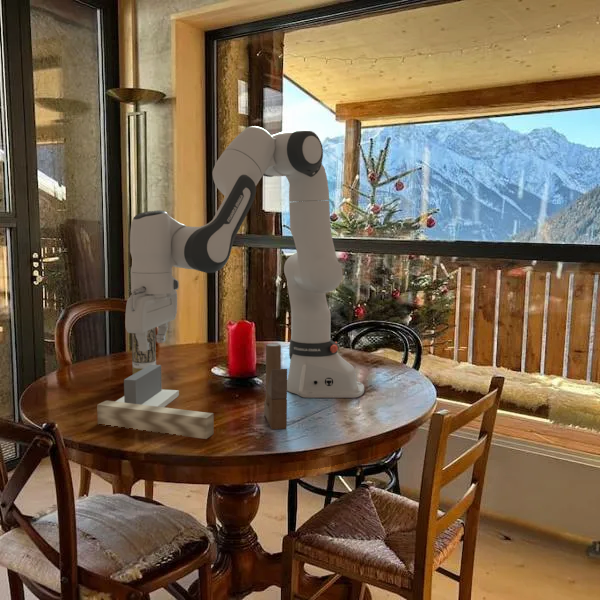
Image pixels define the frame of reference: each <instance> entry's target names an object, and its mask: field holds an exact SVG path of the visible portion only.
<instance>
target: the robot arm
mask: <svg viewBox="0 0 600 600" xmlns="http://www.w3.org/2000/svg"><path fill="white" fill-rule="evenodd" d="M323 157H324V148H323V144H322V141H321V140H320V138H319V136H318V135H317V134H316V133H315V132H314V131H312V130H310V129H309V130H308V129H296V130H288V131H287V130H286V131H281V132H278V133H275V134H270V132H269V131H267V130H266V129H264V128H263V127H260V126H256V125H254V126H253V125H252V126H247V127H246V128H245V129H243V130H242V131H241V132H240V133H239V134H238V135H237V136H236V137H235V138H234V139H232V140H231V142H230V143H229V145H228V146H227V147H226V148H225V149H224V150H223V151H222V153H221V155H220V156H219V158H218V159H217V161H216V162H215V164H214V167H213V169H212V179H213V183H214V185H215V187H216V188H217V189H218V191H219V192H220V193H221V194H222V195H223V196H224V198H223V199H222V200H223V201H222V202H221V204H220V205H219V207H218V209H217V211H216V213H215V215H214V216H213V218H212V220H210V221H209V222H208V223H206V224H204V225H201V226H189V225H188V226H187V225H186V224H184V223H181V222H179V221H178V220H176V219H174V218H173V217H172V216H170V215H169V213H168V212H167V211H165V210H150V211H144V212H140V213H137V214H135V216H134V217H133V218H132V220H131V223H130V233H129V234H130V235H129V252H130V255H131V259H132V260H131V268H130V293H131V295H129V297H128V299H127V301H126V304H125V305H126V306H125V321H124V323H125V326H124V327H125V330H126V332H127V333H128V334H132V333H136V338H137V341H138V343H139V351H147V350H149V342H148V341H147V335H148V330H151V329H153V328H155V329H156V328H158V329H157V334H155V339H156V343H157V344H158V343H160V344H163V343H165V342H166V341H167V332H168V328H169V322H172V321H174V320H176V316H177V312H178V311H177V310H178V292H177V290H179V288H180V283H179V280H178V279H176V278H175V277H174V276H173V267H175V268H179V269H186V270H193V271H198V272H202V273H206V274H214V273H217V272H219V271H220V270H222V269H223V268H224V267H225V266H226V264H227V263H228V261H229V259H230V256H231V252H232V249H233V246H234V245H233V244H234V242H235V239H236V236H237V235H238V232H239V231H240V229H241V227H242V225H243V223H244V221H245V218H246V217H247V215H248V213H249V211H250V210H251V207H252V205H253V202H254V200H255V197H256V193H257V185H258V184H259V182H260V180H261V179H262V177H268V178H272V177H286V180H287V181H288V184H289V186H288V190H289V191H288V203H289V205H288V206H289V207H288V208H289V230H290V233H291V235H292V238H293V241H294V245H295V250H296V252H295V253H293V254H291V255H290V256H289V257H288V258H287V259H286V260H285V262H284V266H283V273H284V275H285V278H286V284H287V292H288V299H289V303H290V311H291V312H290V314H291V317H290V318H291V319H290V320H291V321H290V322H291V329H290V330H291V332H290V333H291V334H290V335H291V339H290V340H289V346H288V347H289V348H288V351H289V352H288V353H289V355H288V356H289V359H290V361H289V369H288V370H289V371H288V373H287V392H288V393H292V394H296V395H298V396H299V397H301V398H312V399H313V398H317V399H319V398H322V399H323V398H325V399H327V398H331V399H332V398H334V399H335V398H337V399H338V398H339V399H340V398H341V399H344V398H350V399H351V398H359V397H361V396H362V395H364V393H365V385H364V384H363V383H362V382H361V381H358V377H357V372H356V369H355V367H354V366H353V365H352V364H351V363H349V362H348V361H347V360H346V359H344V358H343V357H342V356H341V355H340V354H339V353H338V349H339V347H338V342H337V341H333V340H332V339H331V327H332V325H331V323H332V322H331V320H332V319H331V318H332V314H331V310H330V307H329V305H328V301H327V300H328V299H327V295H326V293H331V292H333V291H335V290H336V289H337V288H338V287H339V286H340V285H341V282H342V281H343V273H344V272H343V268H342V266H341V263H340V262H339V259H338V257H337V253H336V248H335V245H334V240H333V236H332V230H331V211H330V208H331V207H330V191H329V184H328V183H329V182H328V177H327V173H326V169H325V167H324V165H323Z"/></svg>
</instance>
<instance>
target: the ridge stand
mask: <svg viewBox="0 0 600 600" xmlns="http://www.w3.org/2000/svg"><path fill="white" fill-rule="evenodd" d="M179 392H180V390H178V389H177V390H176V389H163V388H162V365H161V364H156V365H149V366H147V367H145V368H144V369H142V370H140V371H138V372H137V373H135V374H133V373H132V375H130V376H128V377H126V378H124V379H123V394H124V395H123V396H122V397H120V398H118V399H117V400H115V402H123V403H132V404H140V405H148V406H157V407H165V408H166V407H167V406H168V405H169V404H170V403H172V402H173V401H174V400H175V399H176V398H178V397H179V396H180V393H179Z"/></svg>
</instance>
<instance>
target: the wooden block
mask: <svg viewBox="0 0 600 600" xmlns="http://www.w3.org/2000/svg"><path fill="white" fill-rule="evenodd" d="M281 348H282V347H281V344H279V343H268V344H266V345H265V401H264V403H263V405H264V411H263V412H264V416H265V419H266V421H267V423H268V425H269V428H271V430H274V431H275V430H286V429H287V428H288V427H287V426H288V400H287V398H288V391H287V379H288V369H287V368H281V366H282V365H281V364H282V363H281V362H282V352H281V351H282V349H281Z"/></svg>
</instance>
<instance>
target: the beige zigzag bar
mask: <svg viewBox="0 0 600 600" xmlns="http://www.w3.org/2000/svg"><path fill="white" fill-rule="evenodd" d="M115 401H116V400H115ZM115 401H114V400H104V401H102V402H100V403H98V404H97V405H96V406H97V407H96V410H97V411H96V413H97V425H99V424H105V425H104V426H106V425H111V426H110V427H114V426H118V427H117V428H121V427H125V428H124V429H129V428H133V429H132V430H136V429H138V430H137V431H143V430H146V431H145V432H151V431H152V432H151V433H158V432H160V433H159V434H165V433H169V434H168V435H173V434H176V435H175V436H180V435H182V437H188V438H195V439H202V440H203V439H205V440H208V438H210V437H212V436H213V435H214V431H215V428H214V427H215V426H214V425H215V424H214V422H215V421H214V419H215V417H214V414H215V413H213V412H204V411H198V410H191V409H190V410H188V409H180V408H172V407H166V406H165V407H157V406H148V405H140V404H132V403H123V402H115Z"/></svg>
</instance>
